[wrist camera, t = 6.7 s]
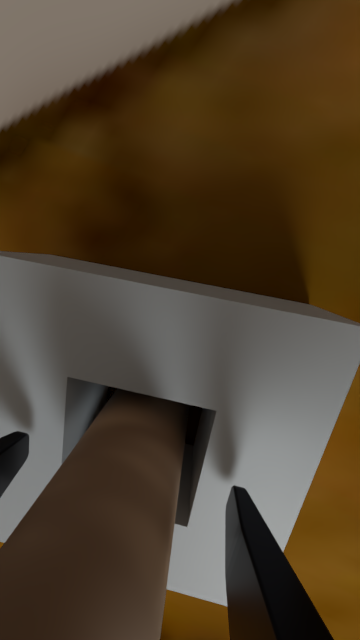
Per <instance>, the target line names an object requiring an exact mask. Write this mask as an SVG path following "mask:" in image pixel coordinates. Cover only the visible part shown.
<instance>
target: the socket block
mask: <svg viewBox="0 0 360 640" xmlns="http://www.w3.org/2000/svg"><path fill="white" fill-rule="evenodd" d="M359 363H360V323H357V322H354V321H352V320H349V319H347V318H344V317H341V316H339V315H336V314H334V313H331V312H328V311H326V310H323V309H321V308H318V307H315V306H313V305H310V304H305V303H300V302H295V301H290V300H284V299H279V298H274V297H269V296H264V295H258V294H253V293H248V292H243V291H238V290H232V289H227V288H222V287H217V286H212V285H206V284H201V283H196V282H191V281H186V280H180V279H175V278H170V277H165V276H160V275H154V274H149V273H144V272H139V271H134V270H128V269H123V268H118V267H113V266H108V265H102V264H97V263H92V262H87V261H82V260H76V259H71V258H66V257H61V256H56V255H50V254H35V253H20V252H5V251H0V438H1V437H3V436H6V435H8V434H10V433H12V432H15V431H20V432H24V433H28V434H29V455H28V458H27V460H26V461H25V463H24V464H23V466H22V467H21V469H20V470H19V472H18V473H17V474H16V476H15V477H14V479H13V480H12V482H11V483H10V485H9V486H8V488H7V489H6V490H5V492H4V493H3V495H2V496H1V498H0V542H4V543H5V542H6V540H7V539H8V538H9V536H10V535H11V533H12V532H13V531H14V529H15V528H16V527H17V525H18V524H19V522H20V521H21V520H22V518H23V517H24V516H25V514H26V513H27V512H28V510H29V509H30V507H31V506H32V505H33V503H34V502H35V501H36V499H37V498H38V496H39V495H40V494H41V492H42V491H43V490H44V488H45V487H46V486H47V484H48V483H49V481H50V480H51V479H52V477H53V476H54V475H55V473H56V472H57V470H58V469H59V468H60V466H61V465H62V464H63V462H64V461H65V459H66V458H67V457H68V455H69V454H70V453H71V451H72V450H73V449H74V447H75V446H76V444H77V443H78V442H79V440H80V439H81V438H82V436H83V435H84V433H85V432H86V431H87V429H88V428H89V427H90V425H91V424H92V422H93V421H94V420H95V418H96V417H97V416H98V414H99V413H100V412H101V410H102V409H103V407H104V406H105V405H106V403H107V396H108V388H109V386H110V387H115V388H119V389H123V390H128V391H132V392H136V393H141V394H145V395H150V396H154V397H158V398H163V399H167V400H171V401H176V402H180V403H184V404H189V405H193V406H198V407H202V412H201V416H200V420H199V425H198V429H197V433H196V437H195V442H194V446H193V445H189V444H185V446H184V454H183V462H182V469H181V477H180V485H179V493H178V501H177V509H176V517H175V525H174V532H173V540H172V548H171V556H170V564H169V572H168V580H167V588H166V589H168V590H172V591H175V592H179V593H182V594H186V595H189V596H193V597H196V598H200V599H203V600H207V601H210V602H214V603H217V604H221V605H224V606H227V595H226V580H225V511H226V504H227V500H228V497H229V494H230V490H231V488H232V486H233V485H235V486H239V487H243V488H245V489H246V490H247V491H248V493H249V495H250V497H251V498H252V500H253V502H254V503H255V505H256V507H257V509H258V510H259V512H260V514H261V515H262V517H263V519H264V521H265V522H266V524H267V526H268V527H269V529H270V531H271V533H272V534H273V536H274V538H275V539H276V541H277V543H278V545H279V546H280V548H281V550H282V551H284V549H285V546H286V544H287V541H288V539H289V536H290V534H291V531H292V529H293V526H294V524H295V521H296V519H297V516H298V514H299V512H300V509H301V507H302V504H303V502H304V499H305V497H306V494H307V492H308V489H309V487H310V484H311V482H312V479H313V477H314V474H315V472H316V470H317V467H318V465H319V462H320V460H321V457H322V455H323V452H324V450H325V447H326V445H327V442H328V440H329V437H330V435H331V433H332V430H333V428H334V425H335V423H336V420H337V418H338V415H339V413H340V410H341V408H342V405H343V403H344V400H345V398H346V395H347V393H348V391H349V388H350V386H351V383H352V381H353V378H354V376H355V373H356V371H357V368H358V366H359Z"/></svg>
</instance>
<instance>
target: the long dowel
mask: <svg viewBox="0 0 360 640" xmlns="http://www.w3.org/2000/svg"><path fill="white" fill-rule="evenodd" d="M189 406H190V405H189V404H184V403H180V402H176V401H171V400H167V399H163V398H158V397H154V396H150V395H145V394H141V393H136V392H132V391H128V390H123V389H119V388H117V390H116V391H115V392H114V394H113V395H112V396H111V398H110V399H109V401H108V402H107V403H106V405H105V406H104V407H103V409H102V410H101V412H100V413H99V414H98V416H97V417H96V418H95V420H94V421H93V422H92V424H91V425H90V427H89V428H88V429H87V431H86V432H85V433H84V435H83V436H82V438H81V439H80V440H79V442H78V443H77V444H76V446H75V447H74V449H73V450H72V451H71V453H70V454H69V455H68V457H67V458H66V459H65V461H64V462H63V464H62V465H61V466H60V468H59V469H58V470H57V472H56V473H55V475H54V476H53V477H52V479H51V480H50V481H49V483H48V484H47V486H46V487H45V488H44V490H43V491H42V492H41V494H40V495H39V496H38V498H37V499H36V501H35V502H34V503H33V505H32V506H31V507H30V509H29V510H28V512H27V513H26V514H25V516H24V517H23V518H22V520H21V521H20V522H19V524H18V525H17V527H16V528H15V529H14V531H13V532H12V533H11V535H10V536H9V538H8V539H7V540H6V542H5V543H4V544H3V546H2V547H1V549H0V640H160V635H161V627H162V619H163V611H164V603H165V595H166V588H167V580H168V572H169V564H170V556H171V548H172V540H173V532H174V525H175V517H176V509H177V501H178V493H179V485H180V477H181V469H182V462H183V454H184V446H185V438H186V430H187V422H188V414H189Z"/></svg>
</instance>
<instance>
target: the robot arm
mask: <svg viewBox="0 0 360 640" xmlns="http://www.w3.org/2000/svg"><path fill="white" fill-rule="evenodd" d="M28 455H29V434H28V433H24V432H20V431H15V432H12V433H10V434H8V435H6V436H3V437H1V438H0V498H1V496H2V495H3V493H4V492H5V490H6V489H7V488H8V486H9V485H10V483H11V482H12V480H13V479H14V477H15V476H16V474H17V473H18V472H19V470H20V469H21V467H22V466H23V464H24V463H25V461H26V460H27V458H28ZM225 580H226V595H227V607H228V620H229V632H230V640H334V639H333V637H332V636H331V634H330V632H329V630H328V629H327V627H326V625H325V624H324V622H323V620H322V618H321V617H320V615H319V613H318V612H317V610H316V608H315V606H314V605H313V603H312V601H311V600H310V598H309V596H308V594H307V593H306V591H305V589H304V588H303V586H302V584H301V582H300V581H299V579H298V577H297V576H296V574H295V572H294V570H293V569H292V567H291V565H290V563H289V562H288V560H287V558H286V557H285V555H284V553H283V551H282V550H281V548H280V546H279V545H278V543H277V541H276V539H275V538H274V536H273V534H272V533H271V531H270V529H269V527H268V526H267V524H266V522H265V521H264V519H263V517H262V515H261V514H260V512H259V510H258V509H257V507H256V505H255V503H254V502H253V500H252V498H251V497H250V495H249V493H248V491H247V490H246V489H245V488H243V487H239V486H235V485H233V486H232V488H231V490H230V494H229V497H228V500H227V504H226V511H225Z"/></svg>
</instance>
